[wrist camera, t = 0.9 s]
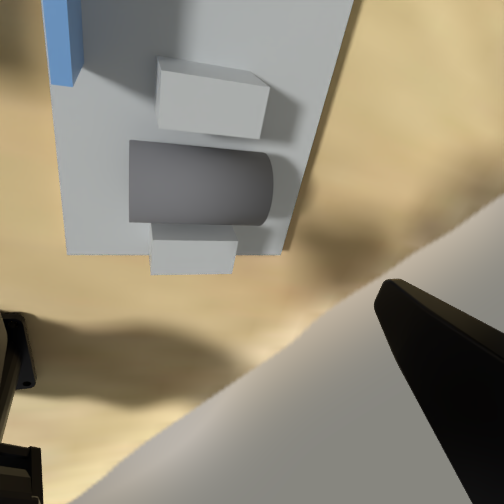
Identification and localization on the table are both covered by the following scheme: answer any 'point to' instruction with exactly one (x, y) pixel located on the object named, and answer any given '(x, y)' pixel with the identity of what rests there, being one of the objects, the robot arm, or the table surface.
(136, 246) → the white base plate
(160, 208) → the dark gray cylinder
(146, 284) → the table surface
